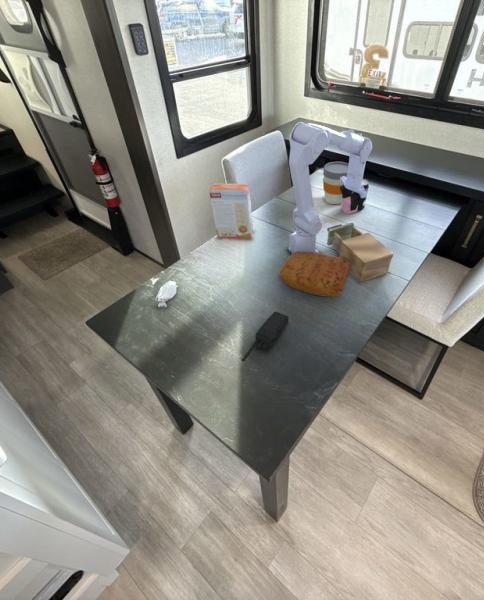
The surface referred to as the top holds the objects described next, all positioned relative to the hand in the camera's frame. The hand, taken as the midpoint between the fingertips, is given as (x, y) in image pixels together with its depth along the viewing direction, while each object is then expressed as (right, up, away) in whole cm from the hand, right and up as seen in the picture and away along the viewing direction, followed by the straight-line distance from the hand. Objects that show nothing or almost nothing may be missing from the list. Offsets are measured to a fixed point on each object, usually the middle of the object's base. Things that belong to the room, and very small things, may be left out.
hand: (349, 206), depth 122 cm
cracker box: (-45, -10, +7) cm, 47 cm away
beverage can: (+8, +5, +20) cm, 22 cm away
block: (0, -1, +1) cm, 1 cm away
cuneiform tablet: (-16, -30, -14) cm, 37 cm away
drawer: (-3, -16, -2) cm, 16 cm away
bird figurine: (-65, -35, -17) cm, 76 cm away
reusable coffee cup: (-1, +11, +25) cm, 27 cm away
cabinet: (+2, -24, -9) cm, 26 cm away
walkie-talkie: (-32, -49, -32) cm, 67 cm away
